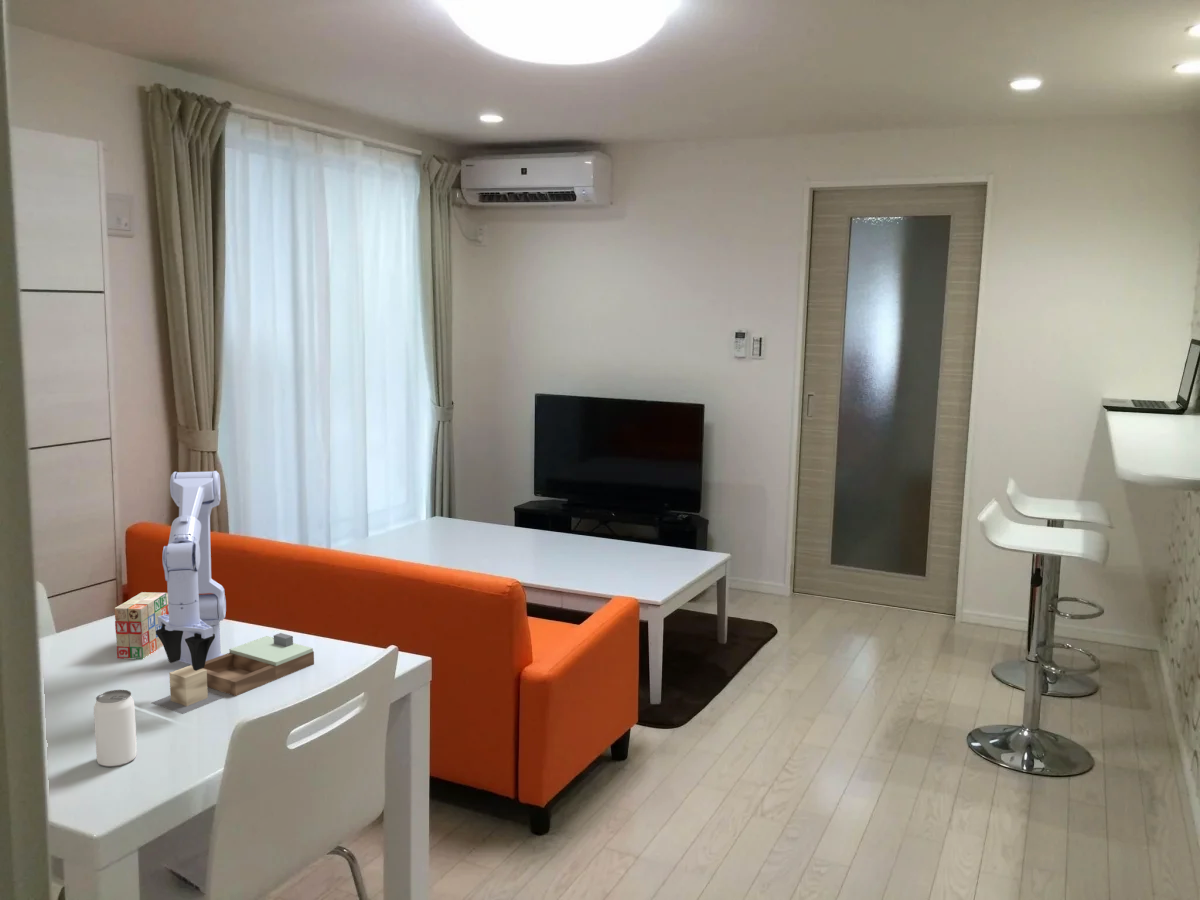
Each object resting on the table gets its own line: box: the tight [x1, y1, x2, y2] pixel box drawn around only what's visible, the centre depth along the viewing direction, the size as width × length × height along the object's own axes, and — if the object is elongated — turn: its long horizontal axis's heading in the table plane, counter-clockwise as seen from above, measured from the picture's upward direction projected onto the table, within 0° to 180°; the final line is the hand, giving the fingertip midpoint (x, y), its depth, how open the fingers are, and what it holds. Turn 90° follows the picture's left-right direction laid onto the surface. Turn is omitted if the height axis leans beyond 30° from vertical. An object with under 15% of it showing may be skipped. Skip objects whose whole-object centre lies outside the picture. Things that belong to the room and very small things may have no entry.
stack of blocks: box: [114, 591, 169, 660], centre depth 232 cm, size 21×6×12 cm, turn 177°
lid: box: [228, 632, 314, 666], centre depth 218 cm, size 15×10×3 cm
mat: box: [151, 691, 225, 715], centre depth 199 cm, size 10×10×1 cm
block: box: [169, 664, 209, 706], centre depth 198 cm, size 5×5×6 cm
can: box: [93, 689, 138, 768], centre depth 173 cm, size 6×6×12 cm
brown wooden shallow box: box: [202, 650, 315, 697], centre depth 214 cm, size 15×22×4 cm
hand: (186, 665), depth 198 cm, fingers open, 7 cm apart
